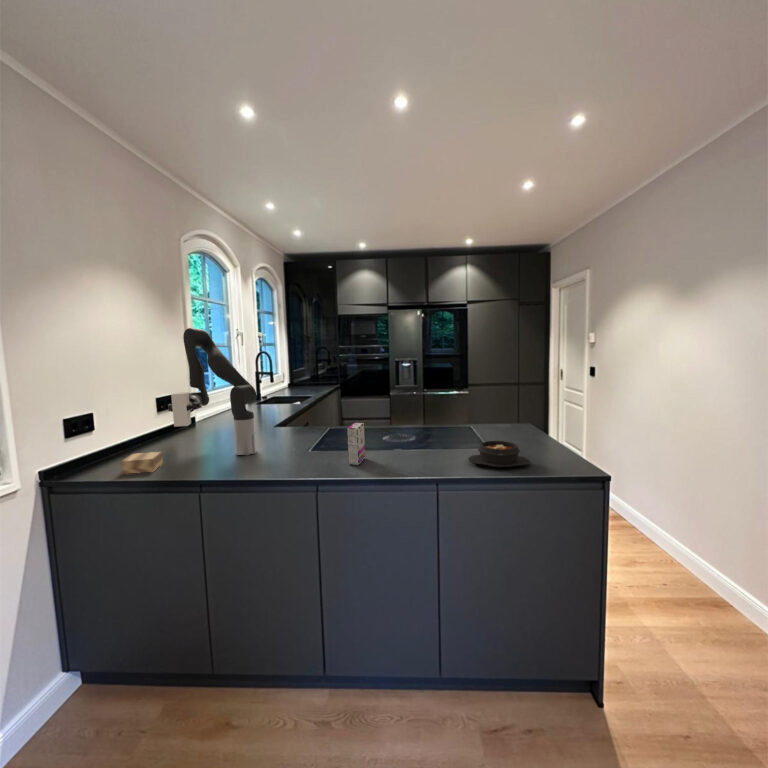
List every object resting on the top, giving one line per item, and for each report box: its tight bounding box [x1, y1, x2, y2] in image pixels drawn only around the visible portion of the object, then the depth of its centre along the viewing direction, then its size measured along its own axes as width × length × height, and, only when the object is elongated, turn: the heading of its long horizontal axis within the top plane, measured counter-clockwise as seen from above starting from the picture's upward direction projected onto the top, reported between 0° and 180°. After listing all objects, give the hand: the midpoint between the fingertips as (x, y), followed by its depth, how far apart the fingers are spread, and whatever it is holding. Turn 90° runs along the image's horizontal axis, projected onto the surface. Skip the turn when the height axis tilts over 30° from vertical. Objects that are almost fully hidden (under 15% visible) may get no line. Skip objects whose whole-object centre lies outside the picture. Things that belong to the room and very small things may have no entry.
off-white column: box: [170, 391, 192, 427], centre depth 175 cm, size 6×6×14 cm
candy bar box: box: [346, 422, 366, 464], centre depth 176 cm, size 11×5×16 cm, turn 168°
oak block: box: [120, 451, 164, 475], centre depth 174 cm, size 12×12×6 cm
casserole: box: [467, 440, 531, 468], centre depth 168 cm, size 25×19×8 cm
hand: (179, 408), depth 172 cm, fingers closed on off-white column, 5 cm apart
